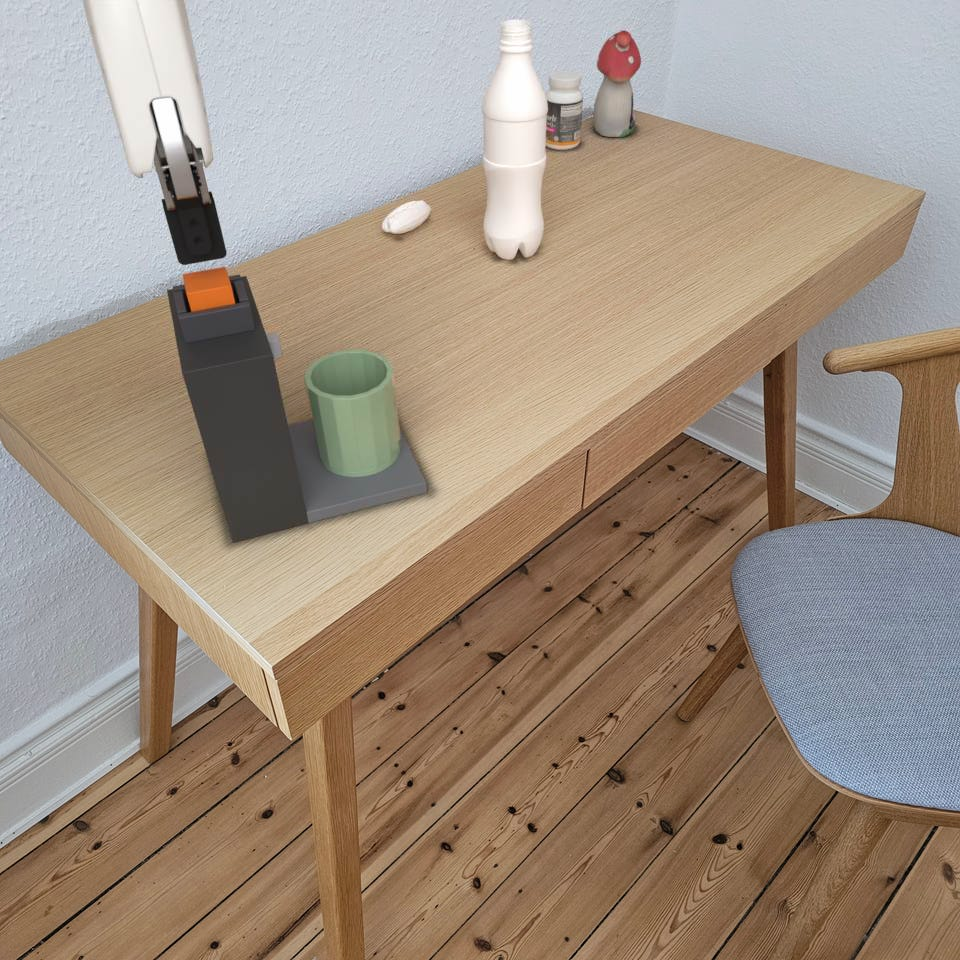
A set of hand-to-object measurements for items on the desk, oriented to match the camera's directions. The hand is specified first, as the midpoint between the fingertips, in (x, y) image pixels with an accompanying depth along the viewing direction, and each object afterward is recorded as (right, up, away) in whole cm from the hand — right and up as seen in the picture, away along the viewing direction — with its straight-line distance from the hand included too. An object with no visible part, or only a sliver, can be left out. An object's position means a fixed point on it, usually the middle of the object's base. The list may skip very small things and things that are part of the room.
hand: (202, 255), depth 58 cm
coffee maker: (+5, -15, +15) cm, 22 cm away
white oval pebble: (+10, +17, +51) cm, 54 cm away
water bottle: (+23, +12, +45) cm, 53 cm away
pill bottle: (+31, +36, +72) cm, 86 cm away
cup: (+9, -13, +15) cm, 22 cm away
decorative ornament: (+40, +39, +76) cm, 94 cm away
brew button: (0, -3, +2) cm, 4 cm away
